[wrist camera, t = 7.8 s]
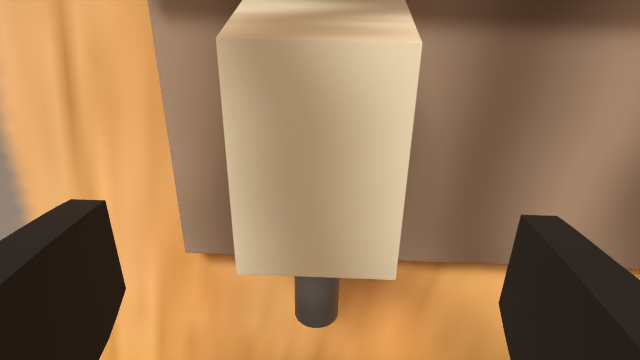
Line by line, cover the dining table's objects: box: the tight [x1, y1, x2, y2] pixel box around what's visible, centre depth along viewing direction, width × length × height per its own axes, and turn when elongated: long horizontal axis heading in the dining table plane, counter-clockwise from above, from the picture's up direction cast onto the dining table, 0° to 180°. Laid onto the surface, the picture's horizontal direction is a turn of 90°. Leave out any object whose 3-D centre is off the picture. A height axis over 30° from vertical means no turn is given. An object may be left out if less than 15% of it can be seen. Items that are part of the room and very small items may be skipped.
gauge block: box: [216, 0, 422, 328], centre depth 15 cm, size 4×8×5 cm, turn 179°
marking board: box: [148, 0, 640, 269], centre depth 16 cm, size 22×12×3 cm, turn 89°
